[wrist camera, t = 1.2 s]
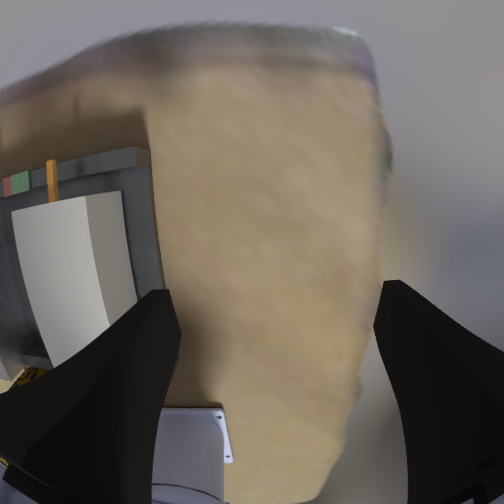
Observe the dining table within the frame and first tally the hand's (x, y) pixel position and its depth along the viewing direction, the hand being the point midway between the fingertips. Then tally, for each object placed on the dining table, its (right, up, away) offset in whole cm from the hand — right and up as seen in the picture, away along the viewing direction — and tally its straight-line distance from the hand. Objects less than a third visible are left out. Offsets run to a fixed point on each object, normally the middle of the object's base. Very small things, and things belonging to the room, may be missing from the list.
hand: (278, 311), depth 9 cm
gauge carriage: (-12, +2, +9) cm, 15 cm away
